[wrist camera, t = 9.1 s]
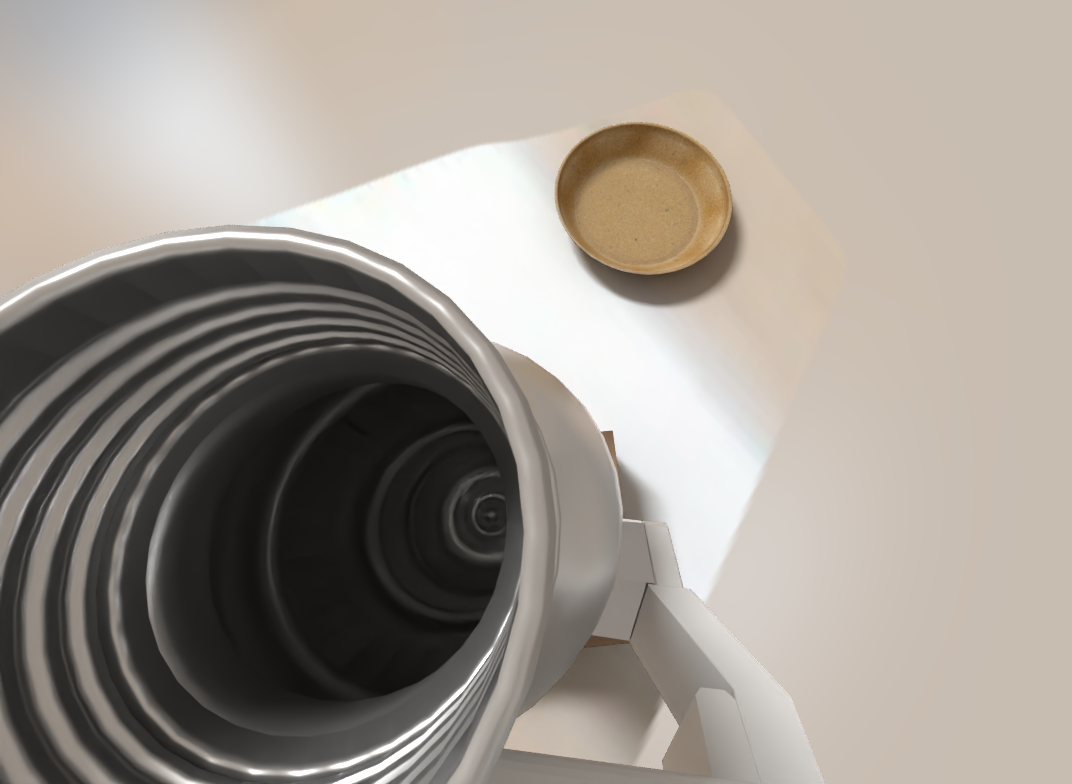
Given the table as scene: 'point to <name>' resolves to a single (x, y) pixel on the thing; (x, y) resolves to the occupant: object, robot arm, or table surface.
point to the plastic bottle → (281, 520)
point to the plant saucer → (643, 198)
